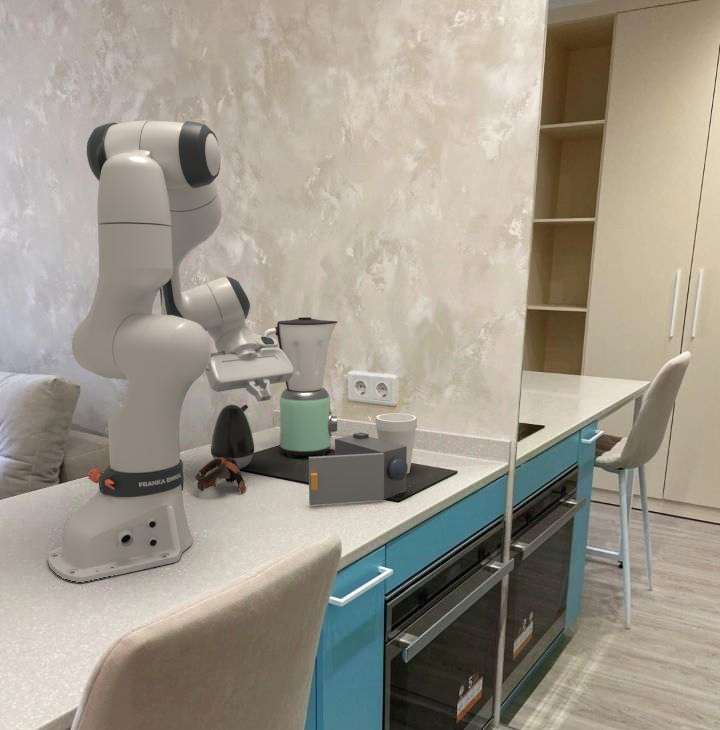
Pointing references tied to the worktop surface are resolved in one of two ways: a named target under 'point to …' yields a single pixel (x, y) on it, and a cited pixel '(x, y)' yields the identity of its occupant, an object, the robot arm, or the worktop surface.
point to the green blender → (305, 387)
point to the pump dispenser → (233, 436)
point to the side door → (346, 478)
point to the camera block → (392, 458)
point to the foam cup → (398, 431)
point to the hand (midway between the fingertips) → (265, 399)
